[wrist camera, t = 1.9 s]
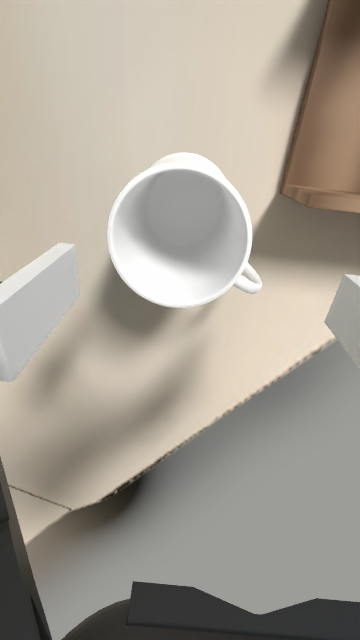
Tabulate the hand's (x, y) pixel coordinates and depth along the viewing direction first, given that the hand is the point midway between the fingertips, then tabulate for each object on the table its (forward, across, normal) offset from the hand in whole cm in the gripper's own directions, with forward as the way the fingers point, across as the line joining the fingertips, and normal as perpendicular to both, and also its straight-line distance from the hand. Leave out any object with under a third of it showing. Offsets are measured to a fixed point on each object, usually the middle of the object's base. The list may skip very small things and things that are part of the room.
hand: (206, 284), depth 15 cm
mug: (+15, 0, 0) cm, 15 cm away
